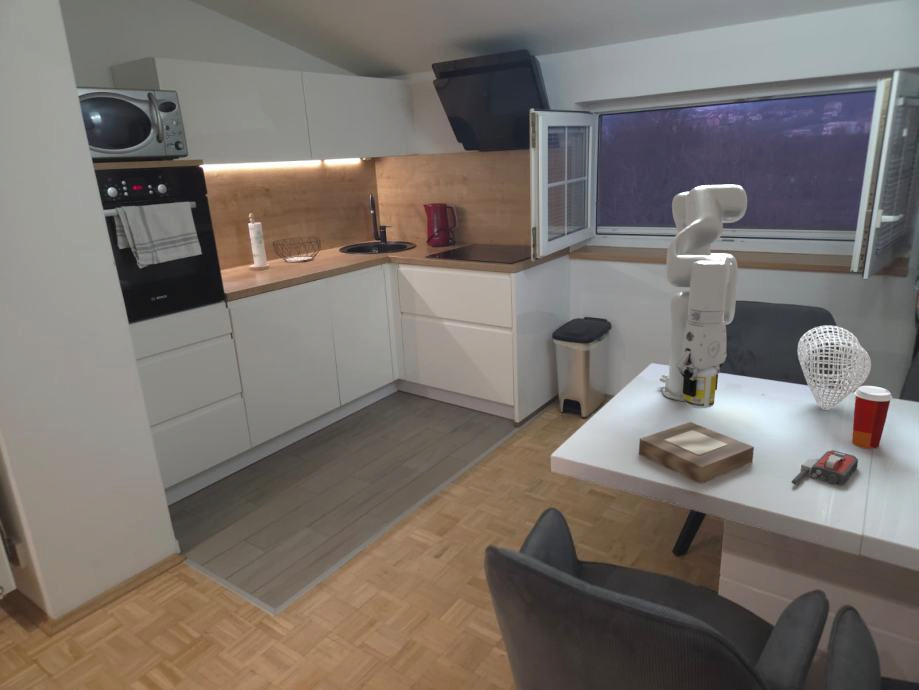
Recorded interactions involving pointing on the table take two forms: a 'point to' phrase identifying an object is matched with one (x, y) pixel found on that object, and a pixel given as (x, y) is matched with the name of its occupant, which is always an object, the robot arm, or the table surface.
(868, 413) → the paper cup
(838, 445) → the table surface
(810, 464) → the walkie-talkie
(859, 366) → the heart
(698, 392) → the pill bottle
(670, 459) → the stand
